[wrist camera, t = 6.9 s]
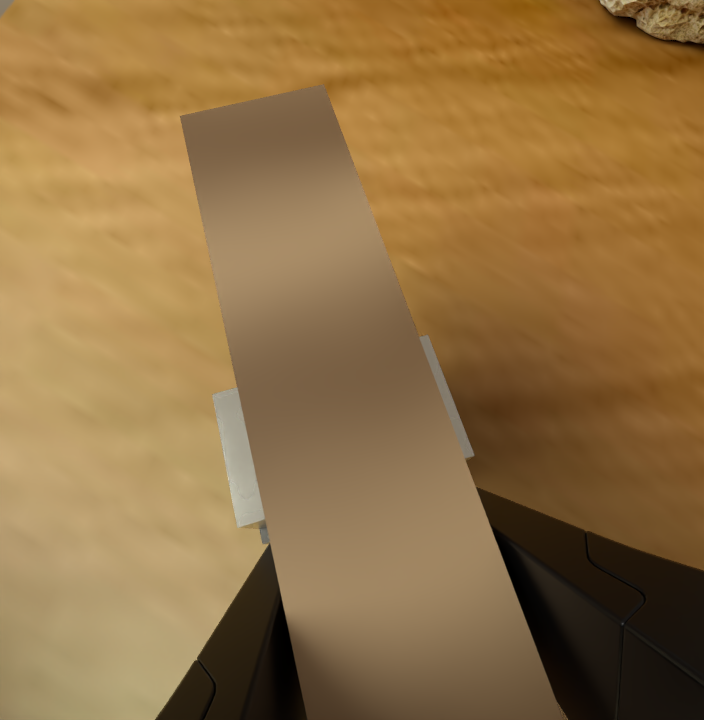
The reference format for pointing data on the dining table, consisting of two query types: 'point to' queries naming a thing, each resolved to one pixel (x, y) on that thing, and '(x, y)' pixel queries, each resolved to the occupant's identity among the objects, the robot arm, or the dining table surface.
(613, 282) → the dining table surface
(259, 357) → the batten
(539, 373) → the dining table surface
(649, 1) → the decorative item
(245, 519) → the grey stepped block
